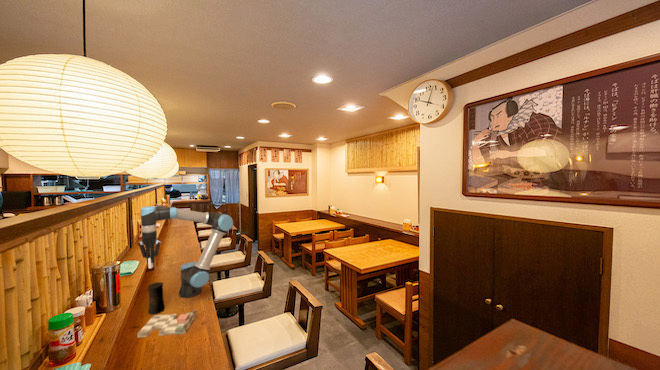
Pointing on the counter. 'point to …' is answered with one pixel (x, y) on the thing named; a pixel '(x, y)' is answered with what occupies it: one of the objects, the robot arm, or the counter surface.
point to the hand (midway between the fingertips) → (150, 267)
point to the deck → (166, 325)
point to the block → (182, 318)
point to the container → (156, 298)
